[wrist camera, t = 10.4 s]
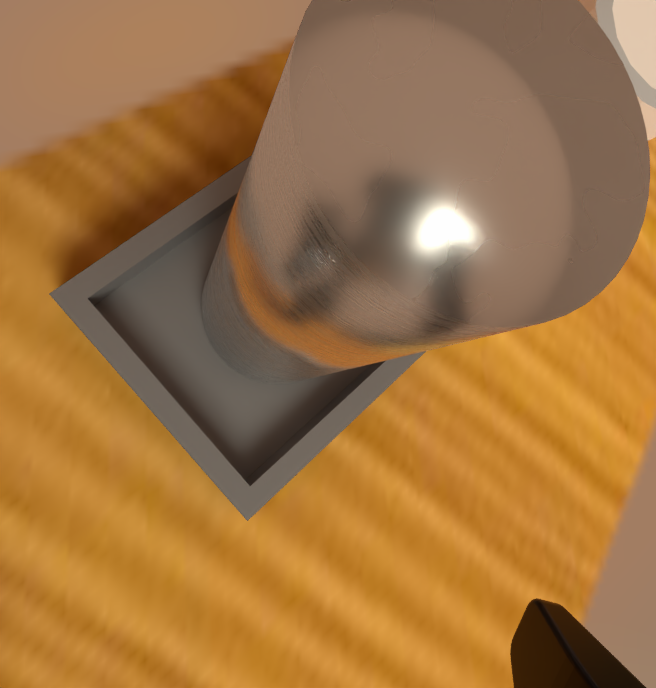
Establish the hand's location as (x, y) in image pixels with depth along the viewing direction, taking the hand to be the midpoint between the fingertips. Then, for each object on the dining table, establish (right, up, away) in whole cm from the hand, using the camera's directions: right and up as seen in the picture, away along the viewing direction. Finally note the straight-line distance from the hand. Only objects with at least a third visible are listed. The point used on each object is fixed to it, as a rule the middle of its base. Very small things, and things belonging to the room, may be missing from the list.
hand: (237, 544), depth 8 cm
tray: (-1, +4, +13) cm, 14 cm away
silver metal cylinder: (-1, +4, +13) cm, 13 cm away
